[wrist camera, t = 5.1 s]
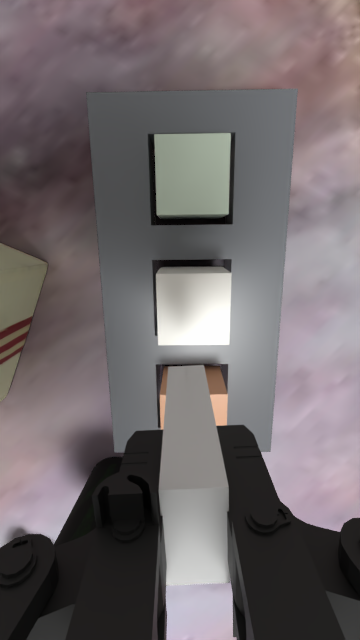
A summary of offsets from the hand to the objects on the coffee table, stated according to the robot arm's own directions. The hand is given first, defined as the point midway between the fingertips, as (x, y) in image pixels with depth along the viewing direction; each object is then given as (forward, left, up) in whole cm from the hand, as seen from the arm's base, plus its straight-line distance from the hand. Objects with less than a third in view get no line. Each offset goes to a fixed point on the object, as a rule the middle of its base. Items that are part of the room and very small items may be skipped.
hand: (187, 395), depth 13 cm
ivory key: (0, +2, -13) cm, 13 cm away
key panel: (0, +2, -16) cm, 16 cm away
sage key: (0, +10, -15) cm, 18 cm away
